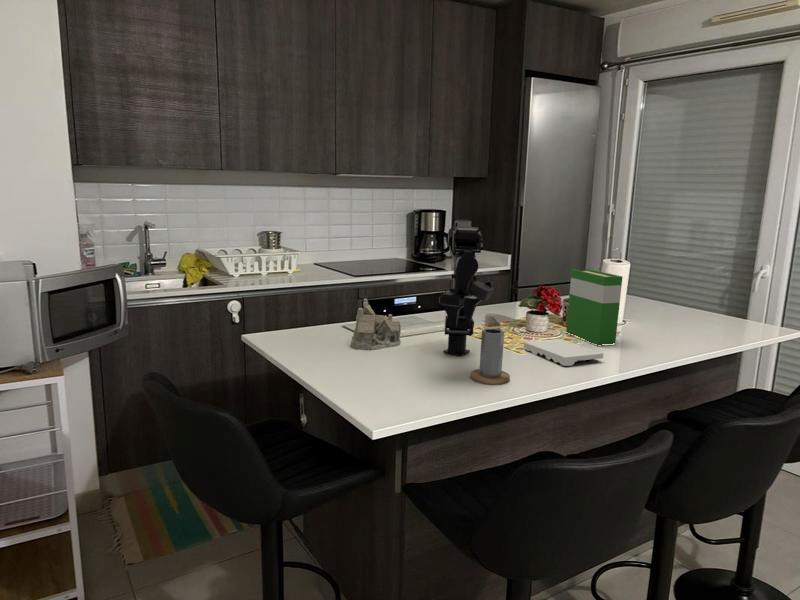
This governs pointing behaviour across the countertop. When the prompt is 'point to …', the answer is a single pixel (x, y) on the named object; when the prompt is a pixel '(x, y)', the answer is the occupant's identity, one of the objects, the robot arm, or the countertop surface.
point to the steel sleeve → (491, 353)
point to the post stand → (491, 381)
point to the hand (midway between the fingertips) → (461, 324)
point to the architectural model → (492, 322)
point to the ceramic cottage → (374, 330)
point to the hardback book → (594, 306)
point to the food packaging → (562, 351)
